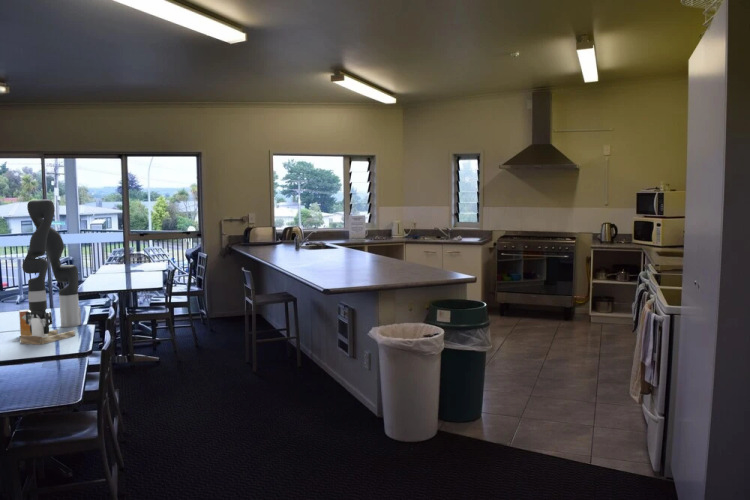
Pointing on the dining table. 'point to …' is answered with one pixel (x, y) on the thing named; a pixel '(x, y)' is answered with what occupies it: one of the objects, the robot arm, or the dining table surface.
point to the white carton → (38, 328)
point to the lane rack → (51, 337)
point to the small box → (24, 323)
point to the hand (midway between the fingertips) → (39, 333)
